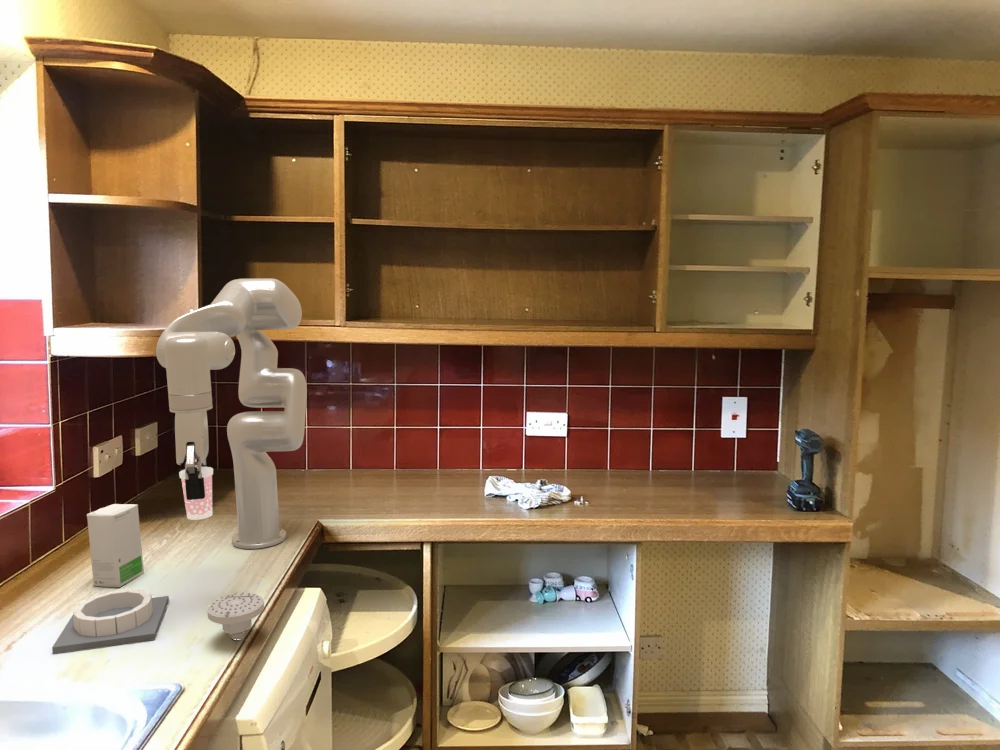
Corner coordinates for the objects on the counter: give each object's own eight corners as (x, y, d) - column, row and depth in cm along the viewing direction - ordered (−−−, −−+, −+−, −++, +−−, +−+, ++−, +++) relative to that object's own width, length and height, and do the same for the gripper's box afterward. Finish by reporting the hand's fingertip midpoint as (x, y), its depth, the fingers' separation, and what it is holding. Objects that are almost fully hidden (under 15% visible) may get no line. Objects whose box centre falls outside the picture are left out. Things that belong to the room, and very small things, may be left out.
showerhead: (196, 613, 122) (217, 588, 132) (199, 654, 123) (220, 625, 133) (253, 612, 123) (269, 586, 132) (255, 652, 124) (272, 624, 133)
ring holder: (78, 612, 139) (76, 592, 139) (169, 601, 144) (167, 581, 143) (52, 654, 124) (50, 630, 123) (155, 639, 128) (153, 617, 128)
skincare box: (118, 588, 150) (112, 516, 148) (90, 586, 151) (83, 514, 149) (145, 572, 158) (139, 503, 156) (118, 570, 159) (112, 502, 157)
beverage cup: (185, 512, 143) (180, 442, 141) (218, 509, 144) (213, 440, 142) (179, 522, 137) (173, 450, 135) (214, 519, 138) (208, 448, 136)
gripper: (175, 395, 144) (183, 482, 147) (161, 411, 128) (170, 509, 131) (216, 393, 146) (222, 479, 149) (207, 408, 130) (214, 505, 133)
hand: (198, 492), depth 140 cm, fingers closed on beverage cup, 6 cm apart
